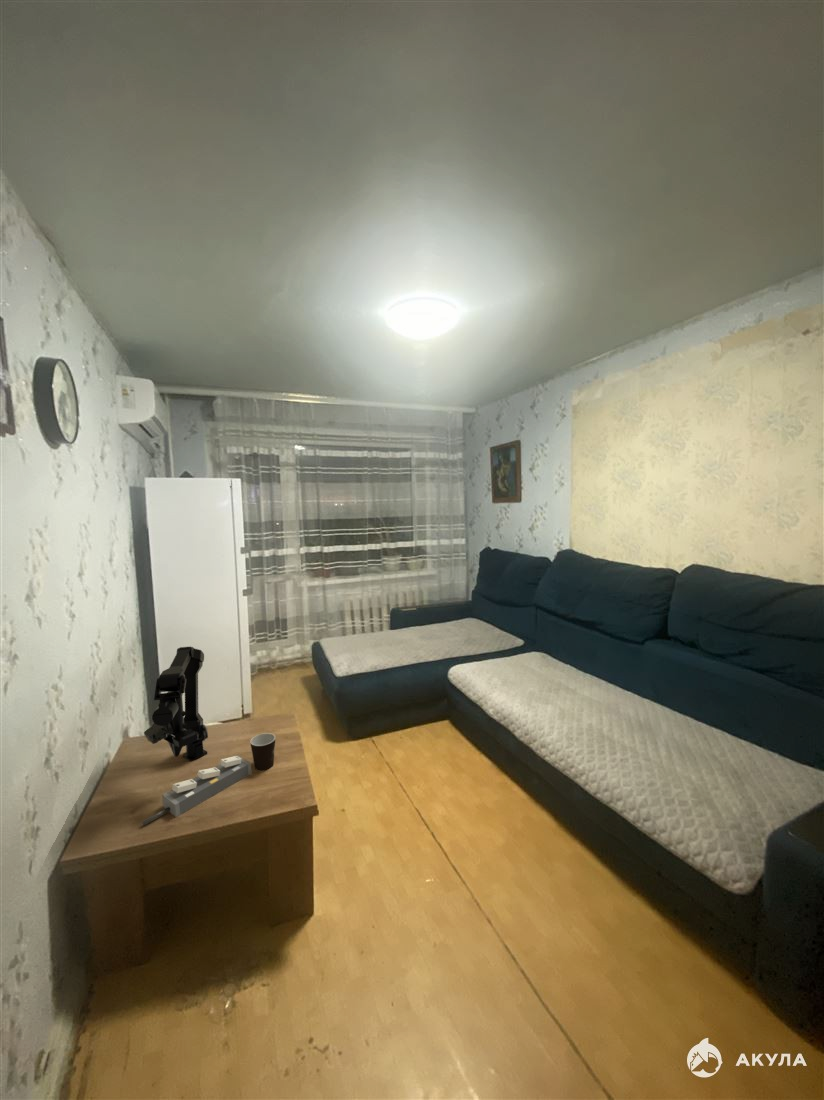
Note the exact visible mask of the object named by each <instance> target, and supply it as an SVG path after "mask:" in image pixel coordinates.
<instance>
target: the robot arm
mask: <svg viewBox="0 0 824 1100" xmlns="http://www.w3.org/2000/svg"><path fill="white" fill-rule="evenodd" d="M204 661H205V654H204V652H203V651H202V649H198V648H194V647H193V646H180V647H177V649H176V654H175V656H174V657H173V660H172V662H171V664H170V665H169V667H168V668H167V669H164V670H163V671H162V672H161V673H160V674H159V676H158V677H157V678H156V683H155V690H154V695H153V696H154V697H153V701H159V703H158V706H157V707H156V709H155V710H154V712H153V714H152V716H151V719H152V722H153V724H152V725H151V726H149V727H148V728H147V729H146V730H144V732H143V735H144V736H145V738H146V739H147V741H148V742H150V743H151V744H153V745H155V744H158V742H160V741H162V740H164V741H166V742H167V743H168V744H169V747H170V749H171V752H172V754H173V756H174V757H175V758H178V757H179V756H180V753H181V751H182V749H183V748H184V747H185V751H186V752H185V753H182V757H183V758H185V759H187V760H188V761H190V762H192V761H195V760H196V759H199V758H201V757H202V756H204V755H207V754H208V751H207V750H205V749H204V741H205V740H206V739H208V738H209V733H208V728H207V726H206V725H205V724H204V718H203V717H202V716H201V714H200V713H199V672H200V671H201V669H202V667H203V663H204ZM183 695H184V703H183ZM183 705H184V706H183Z"/></svg>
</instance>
